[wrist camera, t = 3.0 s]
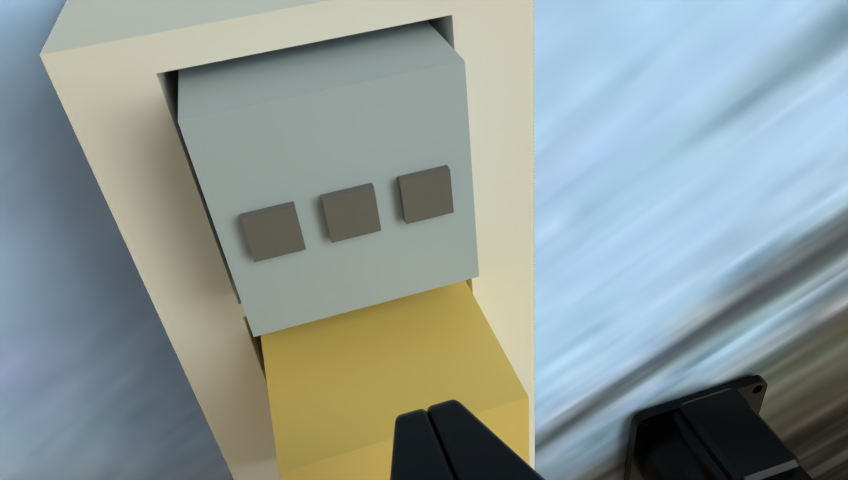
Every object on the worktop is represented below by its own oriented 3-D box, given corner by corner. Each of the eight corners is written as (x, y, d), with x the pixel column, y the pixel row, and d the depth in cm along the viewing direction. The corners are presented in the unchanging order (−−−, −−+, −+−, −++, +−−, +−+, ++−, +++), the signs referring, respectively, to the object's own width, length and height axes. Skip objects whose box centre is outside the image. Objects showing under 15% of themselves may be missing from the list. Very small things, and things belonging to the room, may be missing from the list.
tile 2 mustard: (463, 384, 20) (533, 540, 16) (299, 432, 19) (329, 609, 15) (450, 253, 17) (532, 404, 13) (256, 304, 16) (279, 482, 12)
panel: (494, 426, 27) (534, 512, 24) (274, 494, 26) (286, 595, 23) (465, -78, 16) (533, -39, 13) (71, -9, 15) (39, 54, 11)
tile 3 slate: (417, 169, 19) (482, 282, 15) (238, 212, 18) (254, 343, 14) (395, -14, 16) (468, 64, 12) (179, 27, 15) (177, 126, 11)
